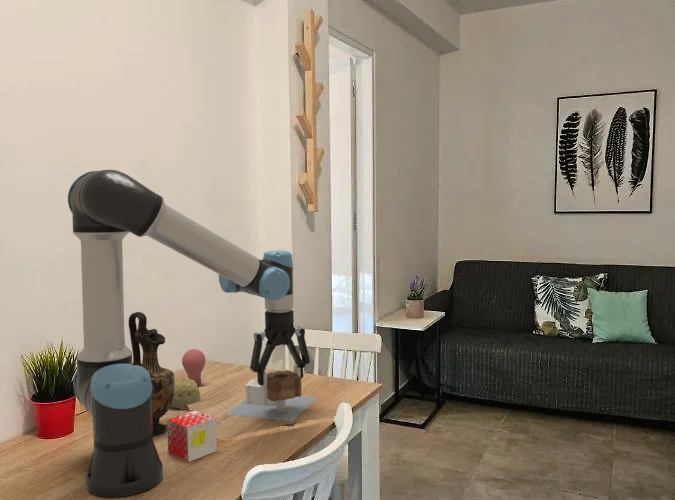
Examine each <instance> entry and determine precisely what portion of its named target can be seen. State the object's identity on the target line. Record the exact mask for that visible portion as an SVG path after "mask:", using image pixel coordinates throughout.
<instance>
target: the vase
mask: <svg viewBox="0 0 675 500" xmlns="http://www.w3.org/2000/svg"><path fill="white" fill-rule="evenodd" d="M136 319H138V323H137V321H136ZM147 323H148V318H147V315H145V314H144V312H141V311H137V312H132V313H131V314H130V315H129V317H128V330H129V336H130V337H129V338H130V344H131V351H132V365H138V366H141V367H143V368H145V369H146V370H147V371H148V373H149V374H150V380H151V384H152V392H151V396H152V426H153V436H156V435H160V434H163V433H165V432H166V430H167V427H166V426H165V424H161V423H160V421H161V418H163V417H164V416H165V415H166V414H167V413H168V411H169V410H170V409H171V408H170V405H171V402H172V399H173V394H174V387H175V379H176V378H175V374H174V372H173V371H172V370H170V369H168V368H167V367H166V368H165V367H162V366H160V364H159V359H158V348H159V346H160V345H164V344H165V343H166V337H165V336H164V335H162V334H161V333H158V330H157V328H152V329H148V328H147ZM137 324H138V325H137ZM140 346H141V347H140ZM141 349H142V356H141ZM141 358H142V360H141Z"/></svg>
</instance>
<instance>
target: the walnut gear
mask: <svg viewBox="0 0 675 500" xmlns="http://www.w3.org/2000/svg"><path fill="white" fill-rule="evenodd" d="M266 373H267V396H268V398H267V399H271V401H277V400H286V399H291V398H295V397H300V396H302V395H303V394H302V379H301V377H299V375H297V374H296V373H294V371H292V370H289V369H286V370H279V371H278V370H276V371H271V372H266Z"/></svg>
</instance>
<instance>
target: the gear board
mask: <svg viewBox="0 0 675 500" xmlns="http://www.w3.org/2000/svg"><path fill="white" fill-rule="evenodd" d="M316 399H317V397H313V396H302V395H301V396H300V397H295V398H291V399H286V400H277V401H276V403H274V405H270V406H269V405H258V404H252V403H246V402H245V399H244V400H242V401H241V402H240V403H238V404H237V405H236V406H235V407H233V408H231V410H229V411H228V412H226V413H225V415H228V416H237V417H248V418H256V419H257V418H258V419H266V420H267V419H268V420H275V421H276V420H277V421H284V422H285V421H286V422H292V423H286V424H281V425H280V426H282V427H289V426H292V427H291V428H294V426H295V425H297V423H298V422H294V421H295V420H296V419H297V417H298V416H299V415H301V414H302V413H303V412H304V411H305V410H306V409H307V408H308V407H309V406H310V405H311V404H312V403H313V402H314V401H316Z"/></svg>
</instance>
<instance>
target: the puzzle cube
mask: <svg viewBox="0 0 675 500" xmlns="http://www.w3.org/2000/svg"><path fill="white" fill-rule="evenodd" d="M166 426H167V427H166V430H167V453H169V454H170V455H172V456H175V457H176V458H179V459H181V460H183V461H185V462H188V463H190V462H192V461H195V460H196V459H199V458H202V457H204V456H207V455H210V454H212V453H215V452H217V449H218V446H217V442H218V441H217V418H216V417H214V416H211V415H209V414H205V413H202V412H200V411H197V410H193V411H190V412H186V413H184V414H181V415H178V416H174V417H172V418H168V419H166Z"/></svg>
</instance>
